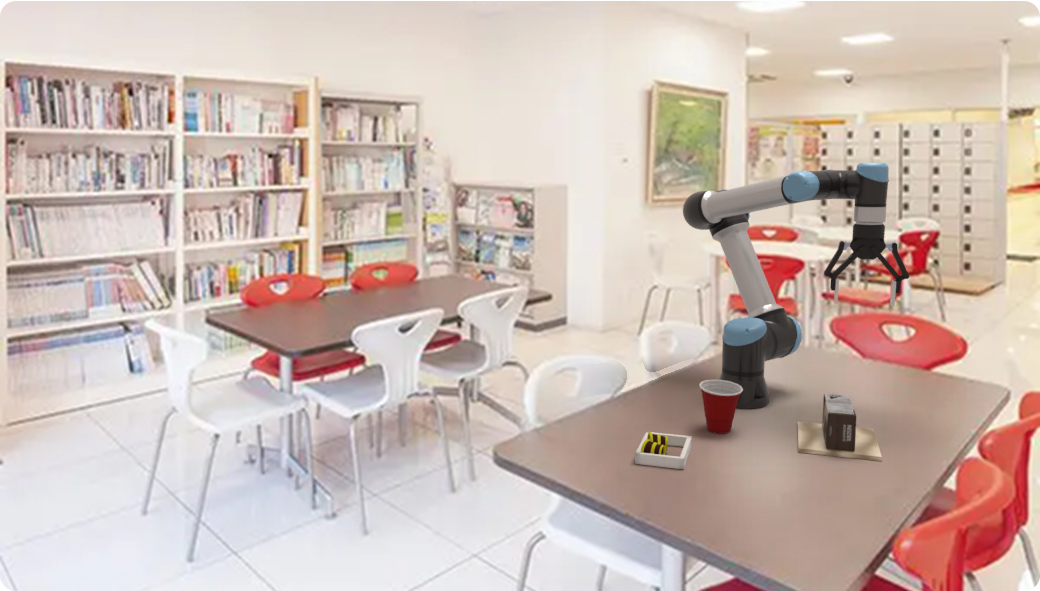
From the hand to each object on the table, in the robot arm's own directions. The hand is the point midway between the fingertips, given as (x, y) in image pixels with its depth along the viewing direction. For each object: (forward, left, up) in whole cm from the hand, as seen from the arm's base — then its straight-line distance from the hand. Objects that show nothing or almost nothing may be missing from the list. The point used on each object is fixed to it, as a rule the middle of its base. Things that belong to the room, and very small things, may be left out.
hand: (863, 304), depth 202 cm
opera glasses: (-47, -45, -31) cm, 72 cm away
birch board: (-6, -22, -31) cm, 38 cm away
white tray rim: (-45, -43, -31) cm, 69 cm away
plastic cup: (-34, -22, -31) cm, 51 cm away
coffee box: (-6, -14, -25) cm, 30 cm away
